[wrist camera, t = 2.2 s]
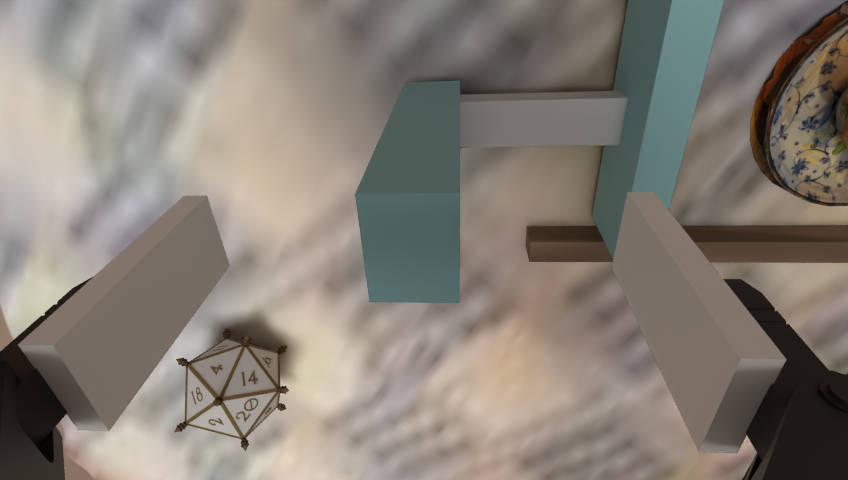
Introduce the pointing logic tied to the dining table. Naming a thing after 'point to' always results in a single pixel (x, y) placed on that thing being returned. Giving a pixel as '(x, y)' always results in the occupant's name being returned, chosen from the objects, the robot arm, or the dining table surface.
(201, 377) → the game die
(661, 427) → the dining table surface
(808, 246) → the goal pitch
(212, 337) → the dining table surface
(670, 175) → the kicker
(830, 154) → the burger
